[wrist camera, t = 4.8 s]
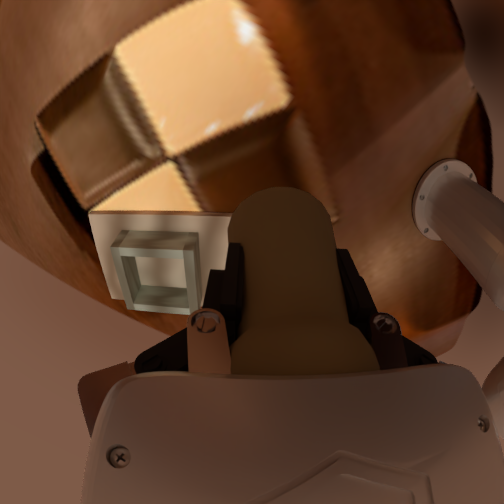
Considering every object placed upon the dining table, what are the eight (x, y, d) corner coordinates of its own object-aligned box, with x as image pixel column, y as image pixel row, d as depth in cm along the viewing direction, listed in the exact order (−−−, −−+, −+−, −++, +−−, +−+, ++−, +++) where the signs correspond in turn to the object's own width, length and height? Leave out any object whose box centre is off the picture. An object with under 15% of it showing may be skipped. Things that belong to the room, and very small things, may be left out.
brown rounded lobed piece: (277, 292, 18) (288, 462, 9) (205, 236, 16) (159, 428, 7) (351, 237, 16) (427, 411, 7) (283, 163, 13) (340, 355, 4)
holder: (238, 213, 33) (237, 234, 29) (235, 303, 42) (234, 328, 38) (91, 211, 33) (74, 229, 28) (114, 294, 41) (103, 316, 37)
